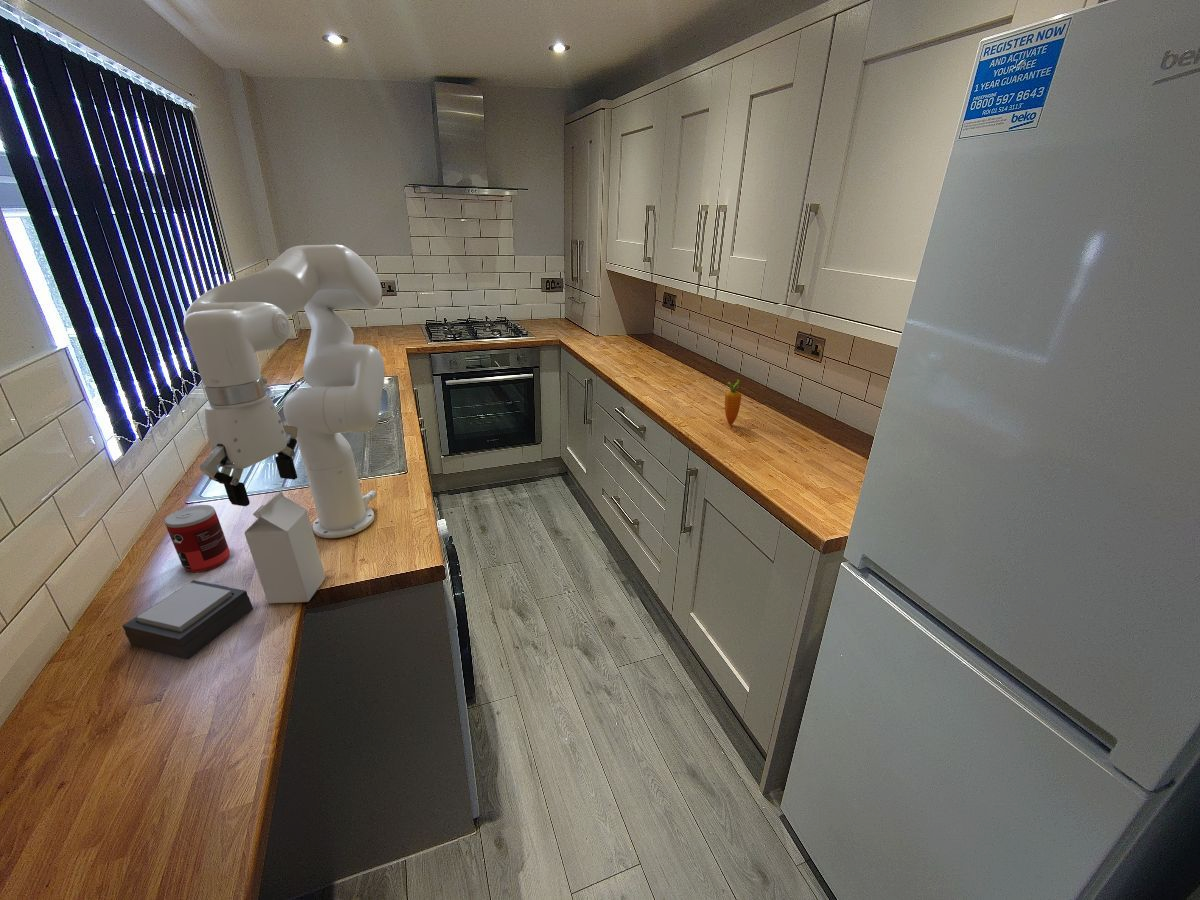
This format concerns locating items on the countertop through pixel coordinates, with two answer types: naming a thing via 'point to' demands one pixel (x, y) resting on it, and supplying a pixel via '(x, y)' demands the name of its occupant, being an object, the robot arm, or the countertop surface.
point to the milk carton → (285, 551)
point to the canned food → (198, 538)
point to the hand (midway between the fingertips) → (266, 490)
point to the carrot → (732, 403)
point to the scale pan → (184, 607)
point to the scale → (196, 633)
